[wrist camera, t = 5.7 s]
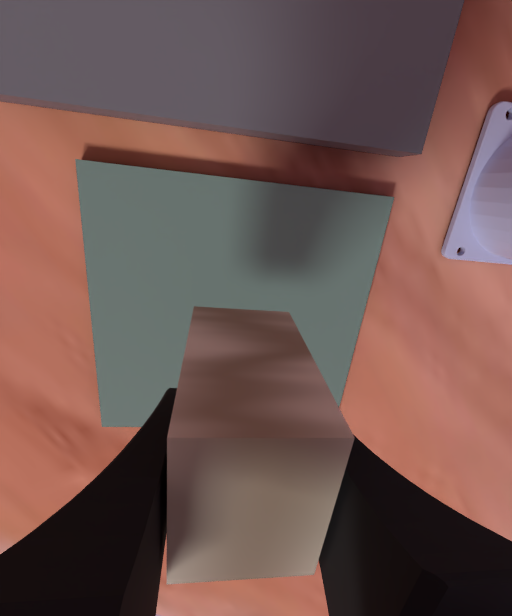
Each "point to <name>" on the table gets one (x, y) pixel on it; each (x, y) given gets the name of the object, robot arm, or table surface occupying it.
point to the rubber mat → (216, 270)
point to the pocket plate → (238, 65)
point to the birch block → (250, 451)
